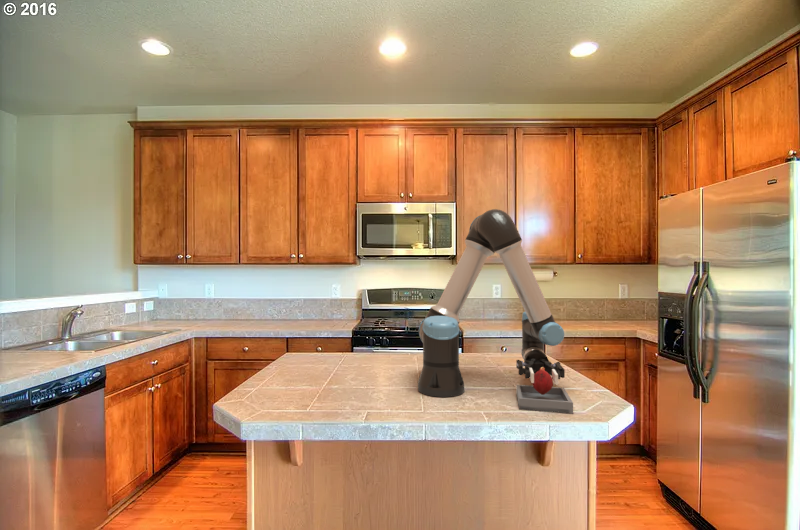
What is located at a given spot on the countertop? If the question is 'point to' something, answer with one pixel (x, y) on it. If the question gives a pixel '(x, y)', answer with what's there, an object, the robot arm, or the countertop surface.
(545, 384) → the onion
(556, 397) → the bin
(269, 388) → the countertop surface
